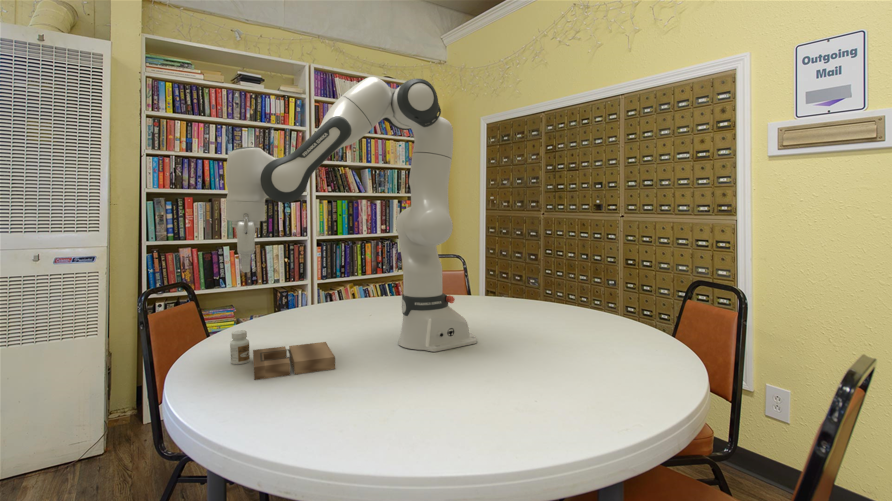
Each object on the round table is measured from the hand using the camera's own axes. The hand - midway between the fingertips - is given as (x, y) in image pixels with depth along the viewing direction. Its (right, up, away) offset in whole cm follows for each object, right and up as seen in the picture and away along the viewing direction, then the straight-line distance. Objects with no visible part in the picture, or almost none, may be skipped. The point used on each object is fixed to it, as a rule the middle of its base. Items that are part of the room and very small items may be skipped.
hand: (246, 269), depth 117 cm
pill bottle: (-2, -24, +2) cm, 24 cm away
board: (+12, -24, -1) cm, 26 cm away
